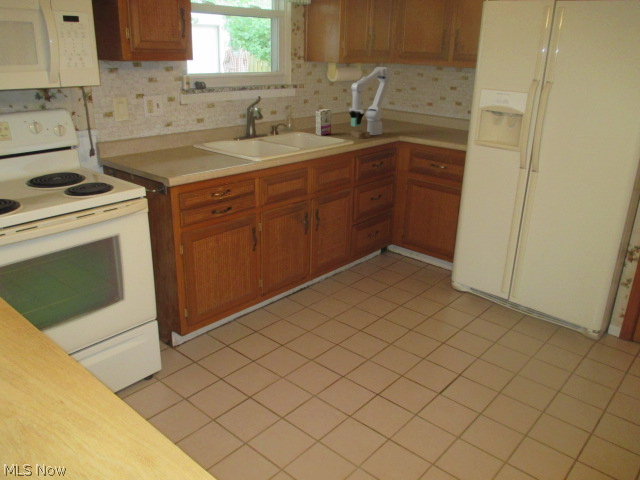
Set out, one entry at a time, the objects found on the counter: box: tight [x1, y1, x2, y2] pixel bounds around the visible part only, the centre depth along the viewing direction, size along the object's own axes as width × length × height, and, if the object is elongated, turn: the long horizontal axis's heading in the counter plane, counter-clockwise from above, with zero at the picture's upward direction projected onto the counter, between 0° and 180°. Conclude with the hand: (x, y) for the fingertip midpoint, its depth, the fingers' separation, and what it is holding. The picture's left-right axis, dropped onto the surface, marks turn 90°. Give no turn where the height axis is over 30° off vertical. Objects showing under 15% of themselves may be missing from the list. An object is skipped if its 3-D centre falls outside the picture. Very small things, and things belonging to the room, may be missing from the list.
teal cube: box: [350, 117, 363, 128], centre depth 347 cm, size 5×5×5 cm
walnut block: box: [349, 129, 371, 140], centre depth 348 cm, size 9×9×4 cm
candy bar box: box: [315, 108, 332, 136], centre depth 353 cm, size 11×5×16 cm, turn 143°
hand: (356, 123), depth 348 cm, fingers closed on teal cube, 5 cm apart
